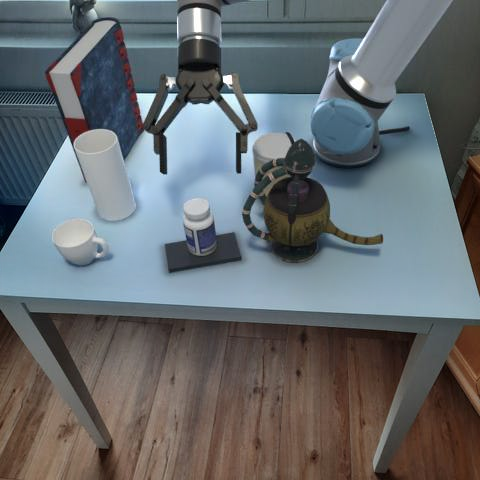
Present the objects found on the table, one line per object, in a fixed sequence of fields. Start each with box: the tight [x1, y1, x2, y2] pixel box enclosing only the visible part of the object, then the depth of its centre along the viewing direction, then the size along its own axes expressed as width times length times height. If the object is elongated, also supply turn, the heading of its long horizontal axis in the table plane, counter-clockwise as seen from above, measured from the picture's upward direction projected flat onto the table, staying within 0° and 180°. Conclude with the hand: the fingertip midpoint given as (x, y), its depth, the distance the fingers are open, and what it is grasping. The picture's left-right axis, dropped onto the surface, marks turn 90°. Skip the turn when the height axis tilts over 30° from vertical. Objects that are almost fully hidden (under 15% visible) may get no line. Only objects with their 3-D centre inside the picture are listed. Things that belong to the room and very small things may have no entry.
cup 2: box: [51, 218, 109, 266], centre depth 89 cm, size 8×10×7 cm
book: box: [44, 16, 145, 184], centre depth 104 cm, size 25×7×25 cm, turn 167°
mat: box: [164, 231, 242, 274], centre depth 91 cm, size 14×7×1 cm, turn 101°
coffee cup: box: [251, 132, 297, 204], centre depth 97 cm, size 9×9×12 cm
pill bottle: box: [182, 197, 217, 256], centre depth 87 cm, size 6×6×10 cm
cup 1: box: [74, 129, 137, 222], centre depth 95 cm, size 8×8×16 cm
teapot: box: [241, 131, 384, 264], centre depth 82 cm, size 12×25×23 cm, turn 75°
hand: (200, 173), depth 84 cm, fingers open, 13 cm apart
